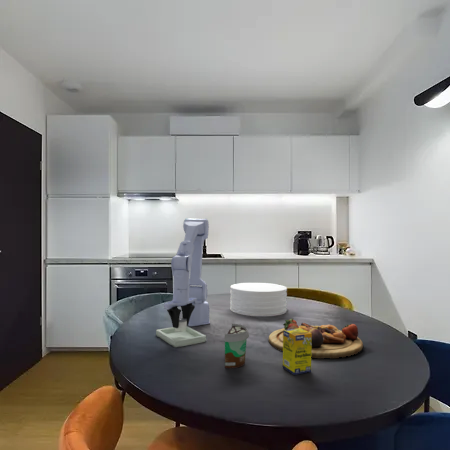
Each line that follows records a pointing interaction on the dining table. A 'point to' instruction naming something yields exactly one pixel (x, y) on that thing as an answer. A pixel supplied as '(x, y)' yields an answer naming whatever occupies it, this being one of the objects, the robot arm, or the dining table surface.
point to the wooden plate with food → (323, 339)
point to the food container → (235, 346)
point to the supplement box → (297, 351)
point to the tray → (180, 336)
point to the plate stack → (258, 299)
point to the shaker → (181, 325)
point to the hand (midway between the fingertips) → (180, 326)
